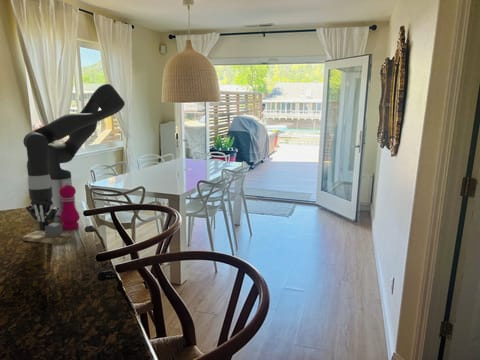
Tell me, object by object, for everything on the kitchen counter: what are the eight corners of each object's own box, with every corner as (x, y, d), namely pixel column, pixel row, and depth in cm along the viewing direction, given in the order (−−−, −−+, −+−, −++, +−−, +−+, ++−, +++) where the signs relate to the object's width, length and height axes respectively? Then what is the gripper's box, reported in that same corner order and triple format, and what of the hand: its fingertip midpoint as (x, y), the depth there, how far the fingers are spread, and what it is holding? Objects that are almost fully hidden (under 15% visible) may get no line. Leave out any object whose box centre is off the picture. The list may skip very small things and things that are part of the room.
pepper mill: (83, 225, 151) (79, 180, 147) (74, 231, 144) (70, 183, 140) (67, 224, 152) (63, 179, 147) (57, 230, 144) (52, 183, 140)
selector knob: (45, 236, 132) (44, 226, 132) (53, 232, 137) (52, 222, 136) (54, 237, 132) (53, 227, 131) (62, 233, 136) (61, 223, 135)
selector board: (23, 240, 133) (22, 236, 133) (37, 234, 140) (36, 230, 140) (60, 244, 130) (59, 240, 130) (72, 237, 137) (72, 233, 137)
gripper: (16, 187, 129) (22, 232, 132) (47, 189, 126) (52, 235, 130) (32, 183, 136) (37, 225, 140) (62, 185, 133) (66, 228, 137)
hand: (44, 230), depth 135 cm, fingers closed
